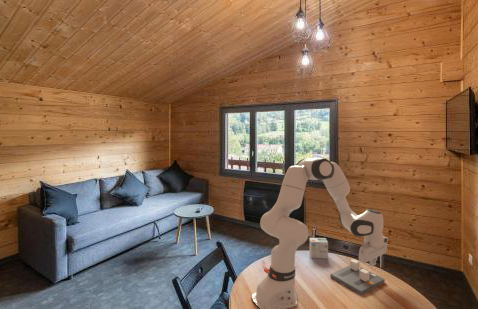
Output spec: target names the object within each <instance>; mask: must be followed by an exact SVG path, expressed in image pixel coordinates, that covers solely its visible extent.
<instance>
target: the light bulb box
mask: <svg viewBox="0 0 478 309" xmlns="http://www.w3.org/2000/svg"><path fill="white" fill-rule="evenodd" d="M308 239H309V249H308V251H309V252H308V253H309V256H310V258H311V259H329V241H328V239H327V238H326V237H308Z"/></svg>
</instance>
